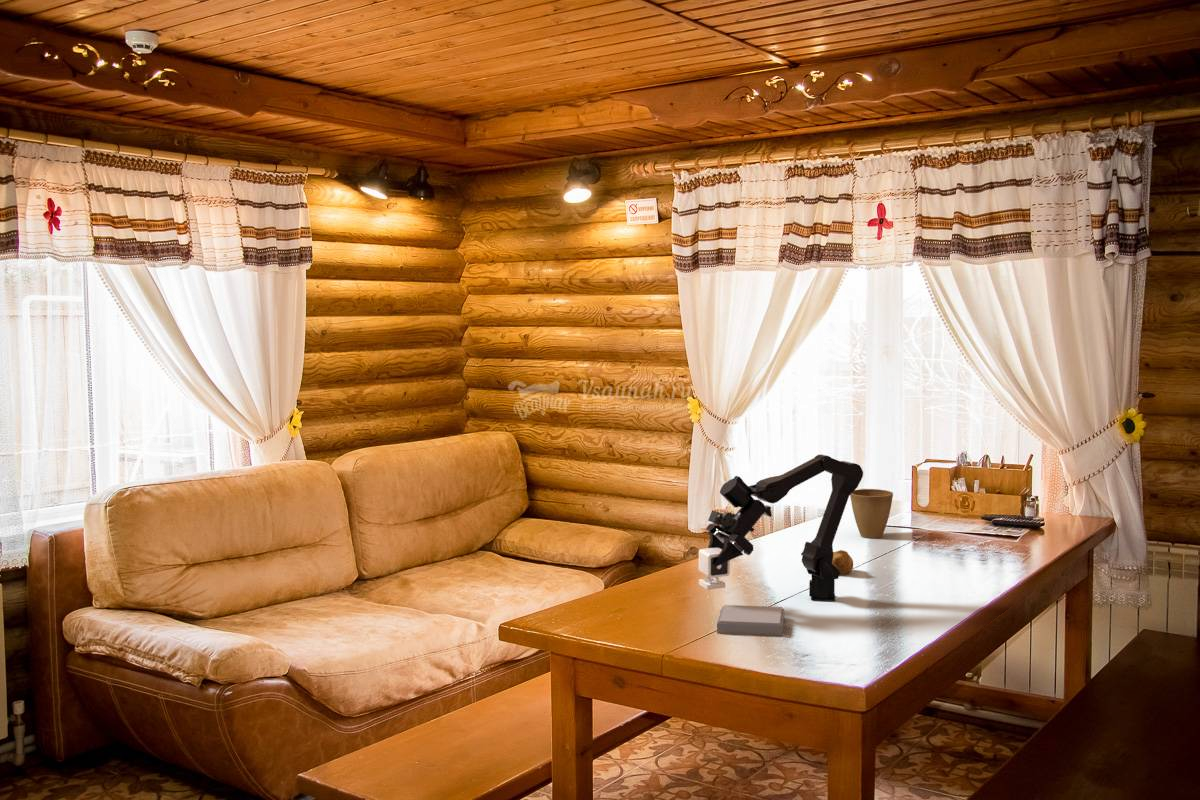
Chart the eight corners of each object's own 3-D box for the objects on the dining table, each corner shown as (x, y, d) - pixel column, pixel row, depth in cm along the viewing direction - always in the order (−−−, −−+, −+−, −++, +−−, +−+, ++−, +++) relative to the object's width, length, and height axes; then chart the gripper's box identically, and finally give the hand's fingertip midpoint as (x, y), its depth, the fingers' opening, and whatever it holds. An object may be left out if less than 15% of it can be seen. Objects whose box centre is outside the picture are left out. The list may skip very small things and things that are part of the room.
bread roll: (806, 572, 324) (806, 546, 324) (821, 566, 332) (821, 541, 331) (844, 578, 316) (844, 551, 315) (859, 571, 323) (859, 546, 323)
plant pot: (841, 535, 378) (841, 491, 377) (874, 530, 384) (874, 487, 383) (868, 542, 365) (868, 497, 364) (902, 538, 371) (902, 493, 370)
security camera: (708, 591, 279) (708, 555, 278) (697, 584, 286) (697, 548, 284) (729, 589, 281) (730, 552, 280) (718, 581, 288) (718, 546, 286)
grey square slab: (784, 617, 275) (784, 606, 275) (781, 635, 259) (781, 623, 259) (722, 615, 278) (722, 604, 278) (717, 633, 263) (716, 621, 262)
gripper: (711, 494, 291) (675, 537, 288) (741, 504, 273) (704, 551, 270) (738, 519, 294) (702, 562, 291) (769, 531, 276) (732, 577, 273)
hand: (709, 562), depth 281 cm, fingers closed on security camera, 6 cm apart
